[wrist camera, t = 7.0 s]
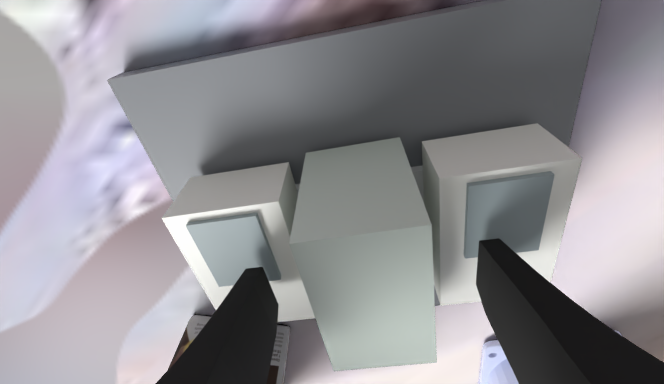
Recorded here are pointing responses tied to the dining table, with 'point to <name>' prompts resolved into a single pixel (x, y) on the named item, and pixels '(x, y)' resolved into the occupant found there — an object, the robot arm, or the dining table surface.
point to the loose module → (366, 255)
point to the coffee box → (278, 357)
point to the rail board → (373, 135)
